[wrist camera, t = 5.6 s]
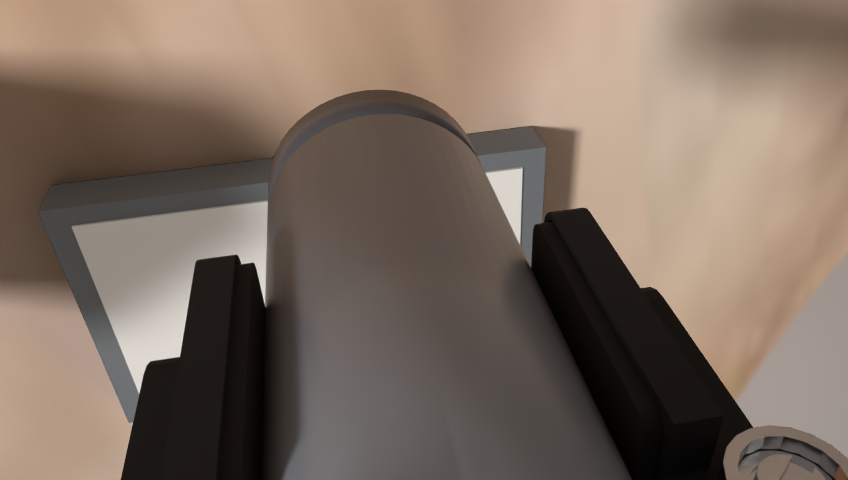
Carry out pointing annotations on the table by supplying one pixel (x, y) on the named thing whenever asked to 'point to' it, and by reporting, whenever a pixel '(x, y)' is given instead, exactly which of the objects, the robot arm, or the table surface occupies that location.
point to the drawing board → (207, 242)
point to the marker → (410, 313)
